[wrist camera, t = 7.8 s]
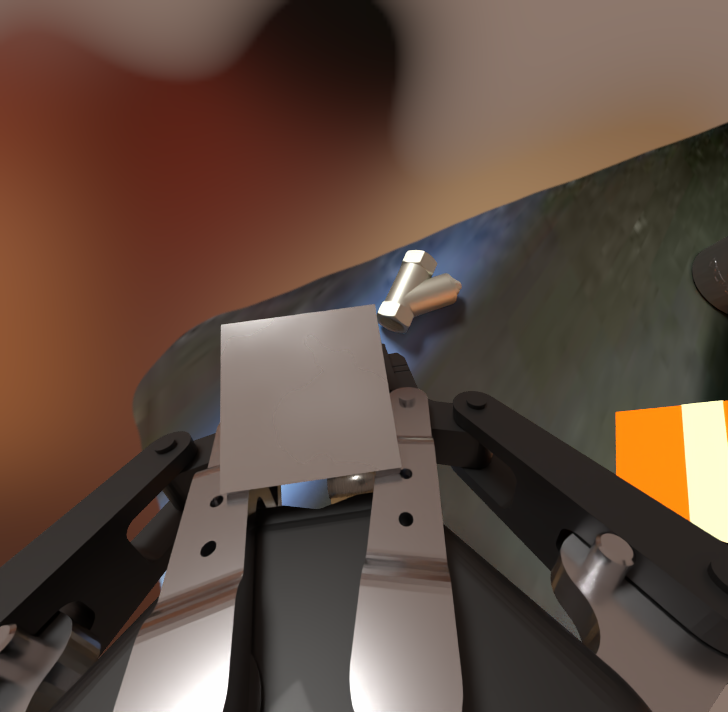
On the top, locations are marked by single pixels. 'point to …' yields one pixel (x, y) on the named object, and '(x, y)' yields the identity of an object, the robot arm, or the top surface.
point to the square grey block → (304, 400)
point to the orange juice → (679, 459)
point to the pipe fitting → (416, 292)
